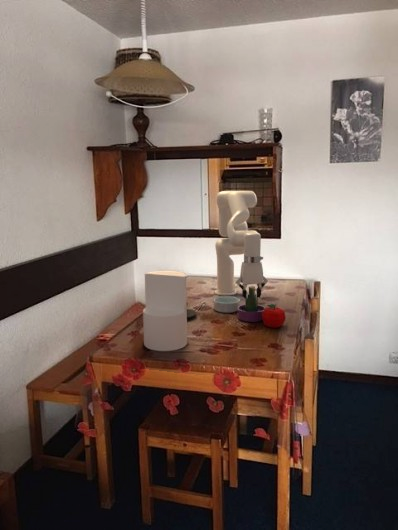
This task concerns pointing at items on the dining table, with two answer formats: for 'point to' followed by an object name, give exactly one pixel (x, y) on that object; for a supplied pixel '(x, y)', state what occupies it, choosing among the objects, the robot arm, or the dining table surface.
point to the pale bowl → (226, 304)
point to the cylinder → (165, 310)
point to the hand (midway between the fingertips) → (251, 297)
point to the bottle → (251, 300)
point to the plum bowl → (250, 314)
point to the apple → (273, 316)
